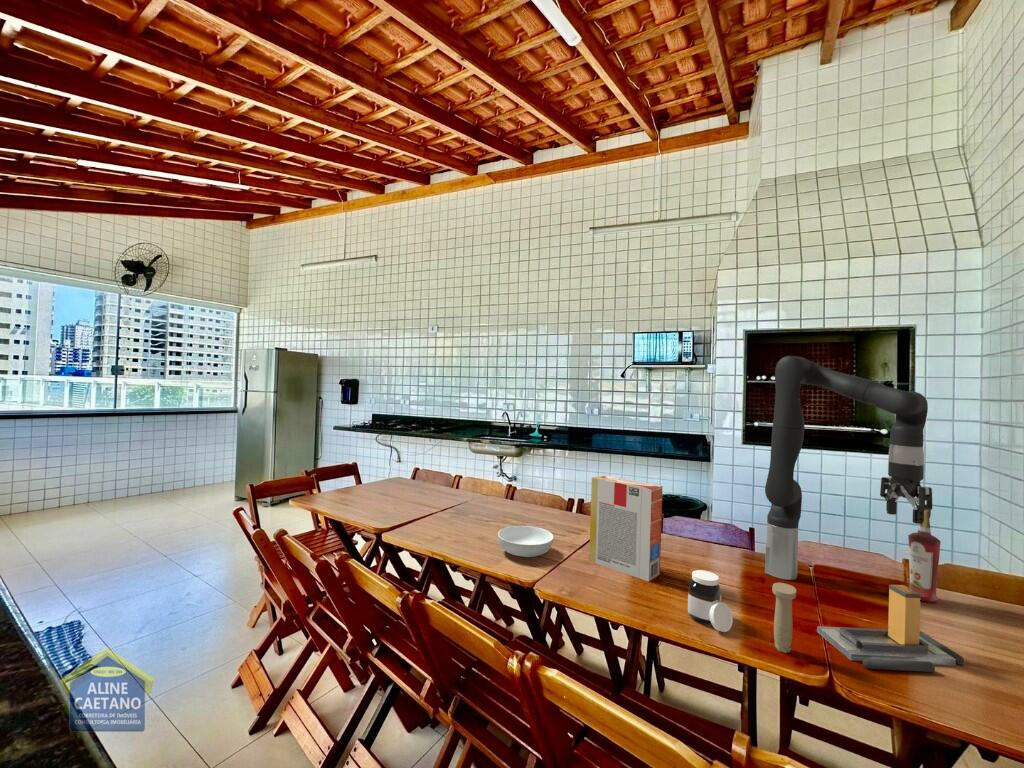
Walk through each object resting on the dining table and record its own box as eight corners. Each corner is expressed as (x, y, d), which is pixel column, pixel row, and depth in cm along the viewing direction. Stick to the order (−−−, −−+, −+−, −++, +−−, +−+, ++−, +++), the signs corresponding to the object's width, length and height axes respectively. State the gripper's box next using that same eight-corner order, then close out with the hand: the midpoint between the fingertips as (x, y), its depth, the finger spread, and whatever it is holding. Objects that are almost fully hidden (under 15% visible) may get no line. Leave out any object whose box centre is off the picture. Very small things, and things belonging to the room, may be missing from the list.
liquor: (901, 595, 138) (903, 506, 138) (915, 592, 141) (917, 504, 141) (930, 606, 131) (932, 513, 132) (944, 602, 134) (946, 511, 134)
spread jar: (695, 606, 127) (696, 565, 127) (738, 620, 120) (739, 577, 120) (681, 622, 118) (682, 579, 118) (727, 638, 111) (728, 592, 111)
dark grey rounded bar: (915, 638, 113) (916, 631, 113) (923, 639, 113) (924, 631, 113) (957, 666, 102) (958, 657, 102) (966, 666, 102) (967, 657, 102)
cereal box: (659, 574, 148) (662, 485, 148) (648, 581, 142) (651, 489, 142) (601, 554, 164) (603, 474, 164) (589, 560, 158) (591, 477, 158)
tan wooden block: (902, 636, 111) (903, 585, 111) (919, 647, 106) (920, 594, 106) (887, 635, 111) (889, 584, 111) (904, 647, 106) (905, 593, 106)
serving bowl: (532, 569, 149) (532, 549, 149) (485, 553, 162) (486, 534, 162) (563, 552, 166) (564, 533, 166) (519, 538, 179) (519, 521, 179)
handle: (795, 647, 108) (797, 586, 108) (792, 660, 103) (794, 596, 103) (772, 640, 111) (774, 580, 111) (769, 651, 106) (770, 589, 106)
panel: (910, 636, 114) (910, 624, 115) (955, 665, 102) (956, 652, 103) (817, 632, 115) (817, 620, 115) (850, 660, 103) (851, 647, 103)
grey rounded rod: (926, 668, 101) (926, 659, 101) (934, 674, 99) (935, 665, 99) (860, 665, 102) (860, 656, 102) (867, 670, 100) (867, 661, 100)
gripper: (872, 457, 131) (870, 511, 131) (914, 465, 117) (912, 526, 117) (898, 457, 131) (896, 512, 131) (943, 466, 117) (941, 527, 117)
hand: (904, 518), depth 124 cm, fingers open, 8 cm apart
